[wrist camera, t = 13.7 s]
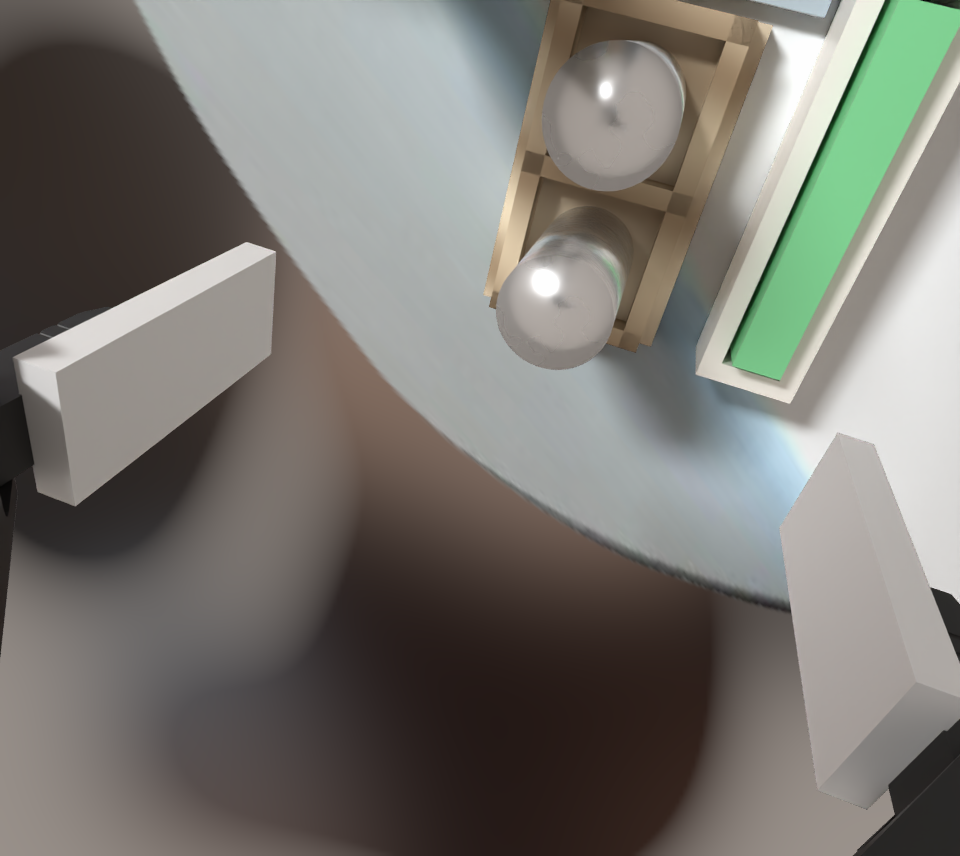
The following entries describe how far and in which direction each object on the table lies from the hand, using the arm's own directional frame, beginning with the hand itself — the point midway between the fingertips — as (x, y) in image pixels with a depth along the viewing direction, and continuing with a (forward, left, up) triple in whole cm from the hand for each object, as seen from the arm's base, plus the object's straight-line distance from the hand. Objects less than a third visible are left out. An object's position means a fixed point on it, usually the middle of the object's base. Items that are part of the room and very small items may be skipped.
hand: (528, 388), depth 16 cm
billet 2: (+3, -1, -24) cm, 24 cm away
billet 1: (-4, -1, -24) cm, 24 cm away
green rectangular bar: (-2, +9, -24) cm, 26 cm away
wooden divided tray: (-1, -1, -25) cm, 25 cm away
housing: (-2, +9, -25) cm, 27 cm away
